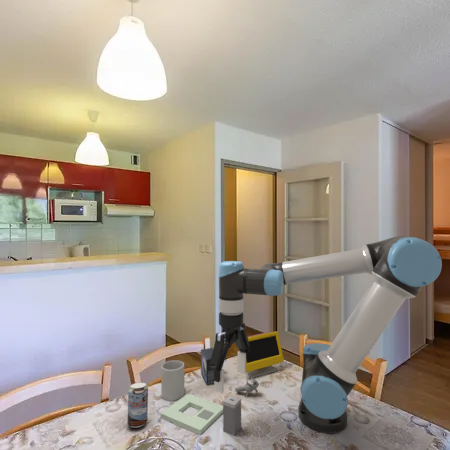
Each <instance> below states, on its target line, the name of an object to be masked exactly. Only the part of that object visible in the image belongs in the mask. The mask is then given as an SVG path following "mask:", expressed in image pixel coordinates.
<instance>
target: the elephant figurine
mask: <svg viewBox="0 0 450 450" xmlns="http://www.w3.org/2000/svg"><path fill="white" fill-rule="evenodd" d="M250 379H251V380H250V381H251V383H250V382H248V380H246V383H245V384H244V386H238V387H234V391H235V392H236V394H239V393H241V392H246V394H245V397H247V396H248V395H249V394H250V393H252V392H253V391H255V392H256V393H258V389H257V388H258V387H259V386H260V383H259V382H258V380H257V379H256V378H250Z"/></svg>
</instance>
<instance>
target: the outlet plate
mask: <svg viewBox="0 0 450 450" xmlns="http://www.w3.org/2000/svg"><path fill="white" fill-rule="evenodd" d="M189 407H191V408H194V409H196V410H198V411H197V412H196V413H195V414H194V415H193V416H192V415H190V414H186V413H185V412H184V411H185V410H186V409H188V408H189ZM221 415H223V404H222V405H221V404H218V403H217V402H216V403H215V402H213V401H210V400H207V399H205V398H203V397H200V396H197V395H193V394H191V393H186V394H184V396H183V397H182V398H180V399H178V400H176V401H175V402H174V403H173V404H171V405H170V406H169V407H167V408H166V409H164V410H163V411H162V412H161V413H160V419H163V420H166V421H168V422H170V423H171V424H175V425H176V426H179V427H181V428H184V429H186V430H188V431H190V432H193V433H195V434H197V435H200V436H201V435H202V434H203V433H204V432H205V431H206V430H207V429H208V428H209V427H210V426H212V424H213V423H214V422H215V421H216V420H218V419H219V417H220V416H221Z"/></svg>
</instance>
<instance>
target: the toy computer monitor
mask: <svg viewBox="0 0 450 450" xmlns="http://www.w3.org/2000/svg"><path fill="white" fill-rule="evenodd" d="M247 337H248V341H249V345H250V347H249V348H247V349H249V352H248V353H247V352H246V373H245V374H248V376H249V377H250V379H256V378H258V377H262V376H265V375H269V374H272V373H275V372H278V371H279V369H278V367H275V366H276V365H279V364H282V363H285V360H284V354H283V350H282V345H281V340H280V336H279V331H278V330H277V331H271V332H267V331H266V332H263V333H258V334H255V335H254V334H253V335H249V336H247ZM245 344H246V343H245ZM274 365H275V366H274Z"/></svg>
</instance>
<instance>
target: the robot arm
mask: <svg viewBox="0 0 450 450" xmlns="http://www.w3.org/2000/svg"><path fill="white" fill-rule="evenodd" d="M442 263H443V262H442V257H441V255H440V252H439V250H437V248H436V247H435V246H434V245H433V244H431V243H430V242H428V241H426V240H424V239H421V238H419V237H414V236H394V237H390V238H386V239H384V240H379V241H376V242H371V243H367V244H366V243H365V244H363V246H362V247H361V248H358V249H351V250H345V251H340V252H336V253H335V252H334V253H329V254H328V253H327V254H322V255H317V256H311V257H304V258H298V259H293V260H287V261H282V262H276V263H271V262H270V263H266V264H264V265H262V266H261V268H260V269H258V268H245V267H244V262H242V261H235V260H228V261H227V260H226V261H225V260H224V261H222V262H221V263H220V264H219V268H218V269H219V271H218V272H219V273H218V274H219V275H218V298H219V299H218V303H219V304H218V311H219V313H218V324H219V326H220V327H221V328H222V330H221V332H220V333H219V332H216V333H215V336H214V337H215V338H214V339H215V340H214V345H213V347H212V348H213V353H212V357H211V361H210V365H209V369H211V370H214V384H213V389H214V392H216V393H219V394H223V393H224V388H225V387H224V386H225V385H224V381H225V380H224V372H225V371H224V369H223V367H224V363H225V361H226V357H227V355H228V353H229V349H231V347H232V345H233V344H234V345H235V346H236V347H237V349H238V351H237V373H240V374H243V375H246V374H247V373H246V352H247V353H248V352H249V349H247V348H249V347H250V345H249V341H248V337H249V336H248V334H247V330H246V323H245V322H244V313H243V312H244V294H245V295H246V294H247V295H261V296H269V297H272V296H274V297H275V296H281V295H282V294H283V293H284V286H285V285H291V284H299V283H305V282H312V281H318V280H319V281H320V280H325V279H332V278H340V277H347V276H353V275H361V274H366V273H367V274H369V275H370V276H372V280H373V281H372V282H371V284H370V285H369V287H368V288H367V289H366V291H365V292H364V294H363V295H362V297H361V299H360V300H359V302H358V303H357V305H356V306H355V308H354V310H352V312H351V314H350V315H349V317H348V318H347V319H346V321H345V323H344V325H343V326H342V327H341V329H340V331H338V334H337V335H336V337H335V338H334V340H333V341H332V343H331V344H328V343H327V344H326V343H318V342H317V343H316V342H315V343H314V342H313V343H307V344H305V345H304V346H303V347H302V348H303V349H302V375H301V376H302V377H301V384H300V394H301V397H300V398H301V399H300V401H299V404H298V419H299V420H300V422H301V423H302V424H304V425H305V426H306V427H307V428H309V429H311V430H314V431H316V432H320V433H325V434H326V433H327V434H331V433H332V434H333V433H340V432H342V431H344V430H345V429H346V428H347V426H348V424H349V423H348V419H349V418H348V412H347V409H348V408H347V407H348V403H349V398H348V396H349V395H350V394H351V392H352V390H353V389H354V387H355V385H356V384H357V383H358V378H357V374H356V372H357V371H358V370H359V368H360V367H361V365H362V364H363V362H364V361H365V360H366V358H367V356H369V353H370V352H371V350H372V349H373V347H374V346H375V345H376V343H377V342H378V341H379V339H380V337H381V336H382V334H383V333H384V332H385V329H386V328H387V327H388V325H390V322H391V321H392V319H393V318H394V317H395V315H396V314H397V312H398V310H400V308H401V306H402V305H403V304H404V302H405V301H406V300H407V299H413V298H416V297H417V295H418V294H419V292H420V291H421V290H422V289H423V287H424V286H427V285H430V284H432V283H433V282H435V281H436V280H437V279H438V277H439V276H440V274H441V271H442V267H443V264H442ZM245 343H246V344H245Z"/></svg>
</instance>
